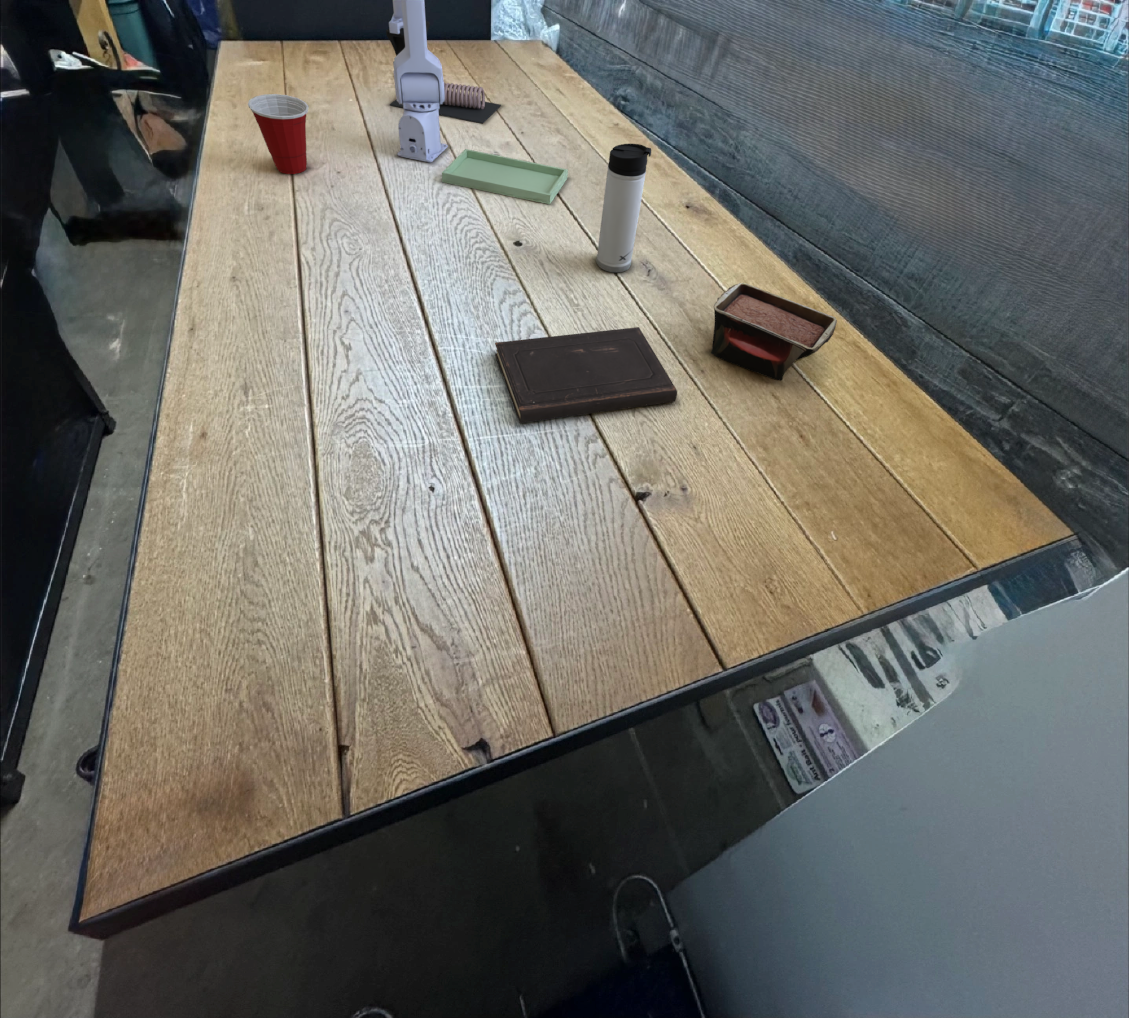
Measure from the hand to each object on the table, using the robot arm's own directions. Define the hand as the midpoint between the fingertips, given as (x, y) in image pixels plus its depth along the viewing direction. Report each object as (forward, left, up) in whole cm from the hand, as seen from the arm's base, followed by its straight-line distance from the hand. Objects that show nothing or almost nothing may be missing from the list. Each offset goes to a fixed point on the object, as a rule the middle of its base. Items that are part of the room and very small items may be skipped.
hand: (411, 62), depth 152 cm
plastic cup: (-42, +8, -10) cm, 44 cm away
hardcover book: (-86, -65, -10) cm, 108 cm away
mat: (+5, -6, -9) cm, 12 cm away
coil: (+5, -7, -9) cm, 12 cm away
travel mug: (-52, -62, -10) cm, 81 cm away
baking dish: (-69, -90, -10) cm, 114 cm away
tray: (-28, -33, -9) cm, 44 cm away
